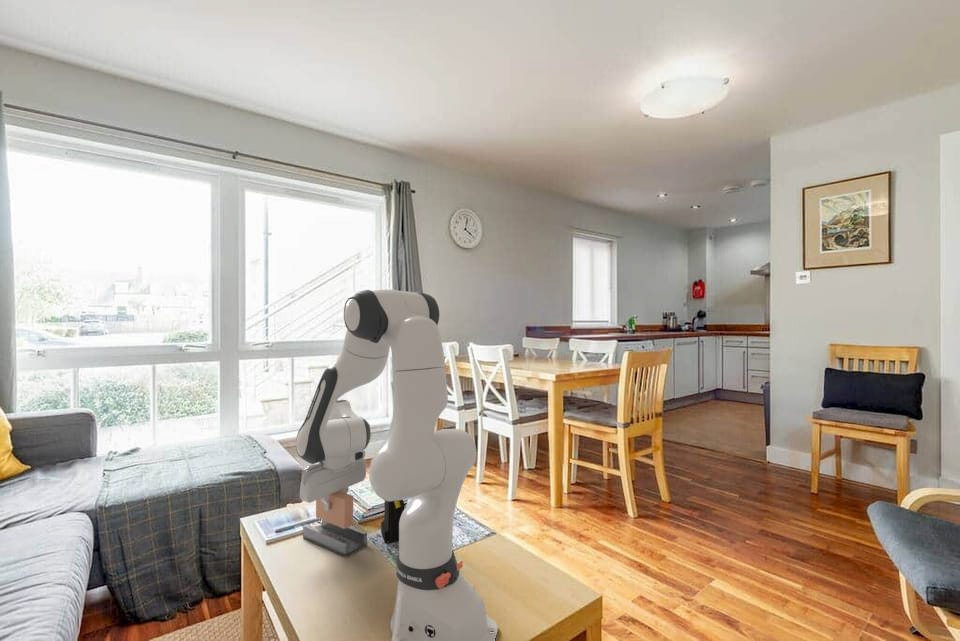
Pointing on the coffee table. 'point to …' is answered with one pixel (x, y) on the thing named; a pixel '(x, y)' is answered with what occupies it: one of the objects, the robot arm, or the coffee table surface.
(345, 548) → the bracket
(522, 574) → the coffee table surface
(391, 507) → the portable radio
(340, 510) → the salmon orange rectangular block
